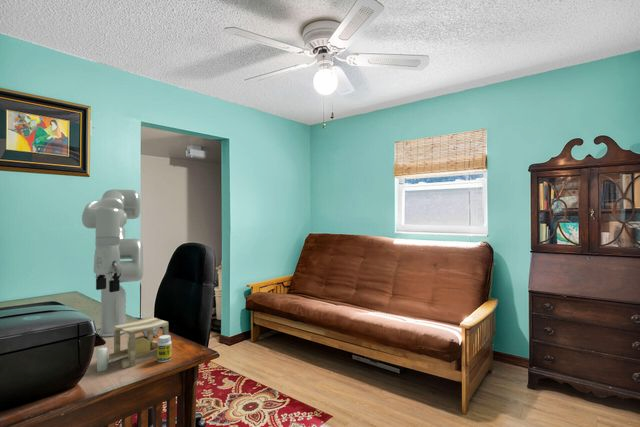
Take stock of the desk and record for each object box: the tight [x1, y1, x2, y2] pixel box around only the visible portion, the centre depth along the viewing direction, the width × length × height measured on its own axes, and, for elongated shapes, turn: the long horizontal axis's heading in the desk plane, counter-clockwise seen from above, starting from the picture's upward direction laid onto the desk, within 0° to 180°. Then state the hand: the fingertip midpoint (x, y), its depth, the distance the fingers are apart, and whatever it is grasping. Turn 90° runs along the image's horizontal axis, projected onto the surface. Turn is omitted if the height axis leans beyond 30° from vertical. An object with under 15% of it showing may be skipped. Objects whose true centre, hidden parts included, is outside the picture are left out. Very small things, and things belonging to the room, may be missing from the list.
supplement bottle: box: [156, 334, 173, 363], centre depth 125 cm, size 5×5×8 cm
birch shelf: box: [108, 316, 169, 370], centre depth 127 cm, size 12×16×12 cm
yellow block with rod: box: [96, 336, 151, 373], centre depth 123 cm, size 6×17×7 cm, turn 145°
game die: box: [141, 316, 161, 339], centre depth 149 cm, size 9×8×10 cm
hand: (107, 290), depth 122 cm, fingers open, 9 cm apart
